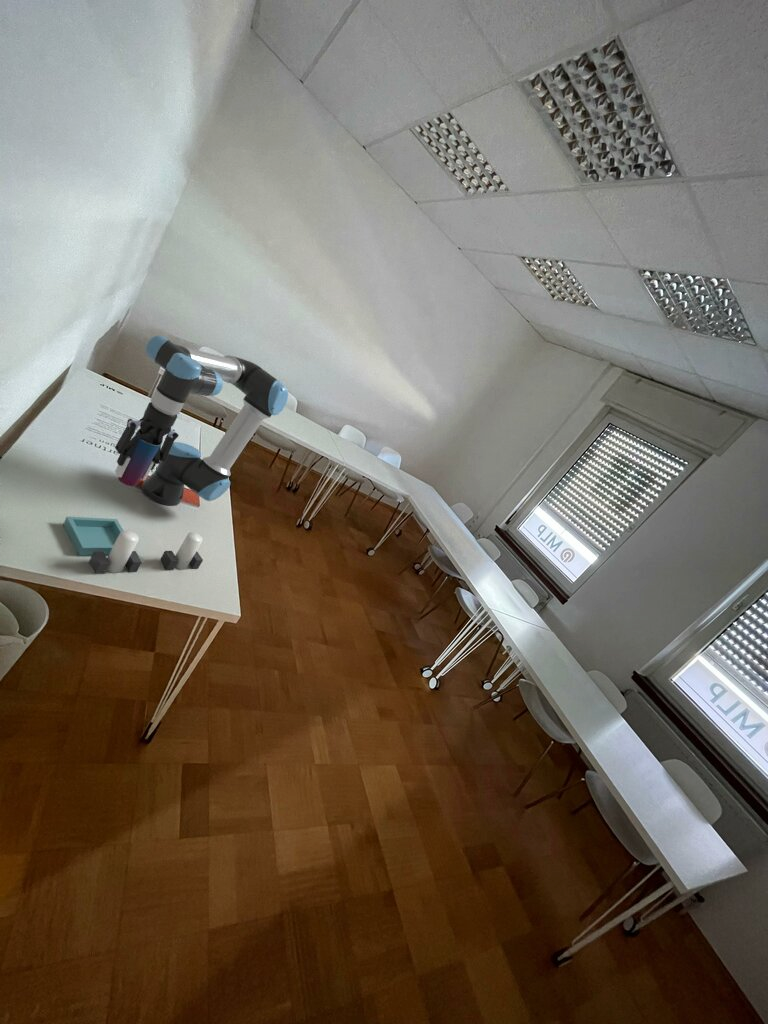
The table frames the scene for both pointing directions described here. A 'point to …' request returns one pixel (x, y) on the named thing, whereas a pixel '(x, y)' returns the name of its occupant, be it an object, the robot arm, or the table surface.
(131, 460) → the cup
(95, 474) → the table surface
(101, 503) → the table surface
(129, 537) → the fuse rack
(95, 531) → the tray
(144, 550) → the table surface
